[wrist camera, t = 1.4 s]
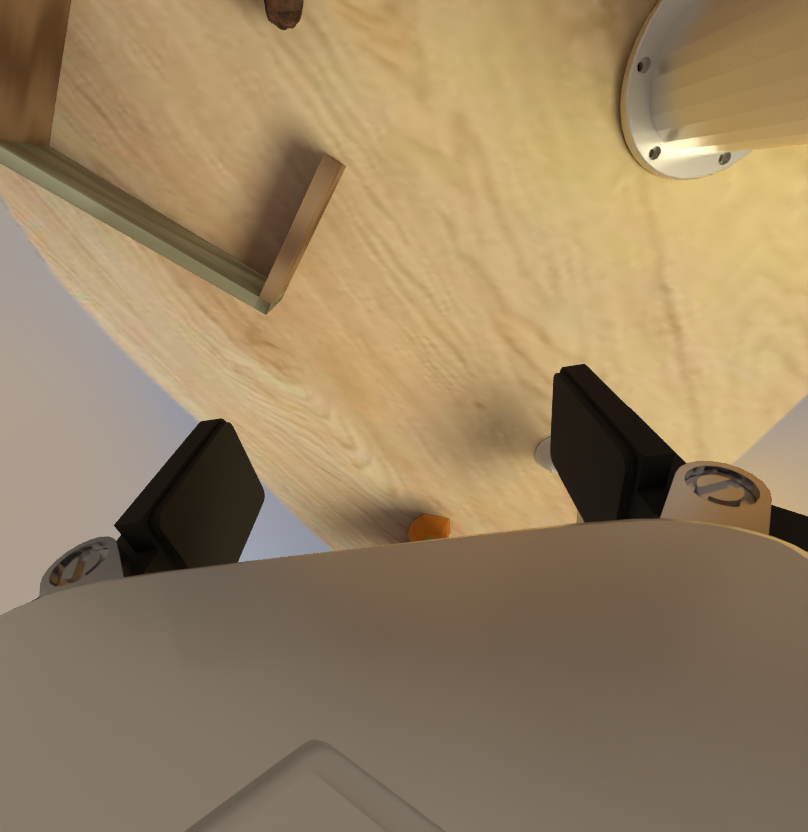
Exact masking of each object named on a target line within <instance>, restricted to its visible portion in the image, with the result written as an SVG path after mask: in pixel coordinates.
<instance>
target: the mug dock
mask: <svg viewBox="0 0 808 832" xmlns="http://www.w3.org/2000/svg"><path fill="white" fill-rule="evenodd" d="M70 3H71V0H0V163H1V164H3V165H4V166H6V167H8V168H10V169H11V170H13V171H15V172H17V173H18V174H20V175H22V176H24V177H25V178H27V179H29V180H31V181H32V182H34V183H36V184H38V185H39V186H41V187H43V188H45V189H46V190H48V191H50V192H52V193H53V194H55V195H57V196H59V197H60V198H62V199H64V200H66V201H67V202H69V203H71V204H73V205H74V206H76V207H78V208H80V209H81V210H83V211H85V212H87V213H88V214H90V215H92V216H94V217H95V218H97V219H99V220H101V221H102V222H104V223H106V224H108V225H109V226H111V227H113V228H115V229H116V230H118V231H120V232H122V233H123V234H125V235H127V236H129V237H131V238H132V239H134V240H136V241H138V242H139V243H141V244H143V245H145V246H146V247H148V248H150V249H152V250H153V251H155V252H157V253H159V254H160V255H162V256H164V257H166V258H167V259H169V260H171V261H173V262H174V263H176V264H178V265H180V266H181V267H183V268H185V269H187V270H188V271H190V272H192V273H194V274H195V275H197V276H199V277H201V278H202V279H204V280H206V281H208V282H209V283H211V284H213V285H215V286H216V287H218V288H220V289H222V290H223V291H225V292H227V293H229V294H230V295H232V296H234V297H236V298H237V299H239V300H241V301H243V302H244V303H246V304H248V305H250V306H251V307H253V308H255V309H257V310H258V311H260V312H262V313H264V314H265V315H266V314H267V313H268V312H269V311H270V310H271V309H272V308H273V307H274V306H275V305H276V304H277V303H278V302H279V301H280V300H281V299H282V297H283V295H284V293H285V291H286V289H287V287H288V285H289V283H290V281H291V279H292V276H293V274H294V272H295V270H296V268H297V266H298V264H299V262H300V260H301V258H302V256H303V254H304V252H305V250H306V248H307V246H308V244H309V241H310V239H311V237H312V235H313V233H314V231H315V229H316V227H317V225H318V223H319V221H320V219H321V217H322V215H323V213H324V211H325V209H326V206H327V204H328V202H329V200H330V198H331V196H332V194H333V192H334V190H335V188H336V186H337V184H338V182H339V180H340V178H341V176H342V174H343V171H344V169H345V167H346V166H344V165H343V164H342V163H340V162H339V161H338V160H336V159H335V158H333V157H331V156H329V155H327V154H325V153H324V155H323V157H322V159H321V162H320V164H319V166H318V168H317V170H316V173H315V175H314V177H313V179H312V181H311V184H310V186H309V188H308V190H307V192H306V195H305V197H304V199H303V201H302V203H301V206H300V208H299V210H298V212H297V214H296V217H295V219H294V221H293V223H292V225H291V227H290V230H289V232H288V234H287V236H286V238H285V241H284V243H283V245H282V247H281V249H280V252H279V254H278V256H277V258H276V260H275V263H274V265H273V267H272V269H271V271H270V274H269V276H268V278H267V277H265V276H263V275H262V274H260V273H258V272H257V271H255V270H253V269H252V268H250V267H248V266H247V265H245V264H243V263H242V262H240V261H238V260H237V259H235V258H233V257H232V256H230V255H228V254H227V253H225V252H223V251H222V250H220V249H218V248H217V247H215V246H213V245H212V244H210V243H208V242H207V241H205V240H204V239H202V238H200V237H199V236H197V235H195V234H194V233H192V232H190V231H189V230H187V229H185V228H184V227H182V226H180V225H179V224H177V223H175V222H174V221H172V220H170V219H169V218H167V217H165V216H164V215H162V214H160V213H159V212H157V211H155V210H154V209H152V208H150V207H149V206H147V205H145V204H144V203H142V202H140V201H139V200H137V199H135V198H134V197H132V196H130V195H129V194H127V193H125V192H124V191H122V190H121V189H119V188H117V187H116V186H114V185H112V184H111V183H109V182H107V181H106V180H104V179H102V178H101V177H99V176H97V175H96V174H94V173H92V172H91V171H89V170H87V169H86V168H84V167H82V166H81V165H79V164H77V163H76V162H74V161H72V160H71V159H69V158H67V157H66V156H64V155H62V154H61V153H59V152H57V151H56V150H54V149H52V148H51V147H49V140H50V134H51V127H52V121H53V114H54V108H55V101H56V95H57V88H58V82H59V75H60V68H61V62H62V55H63V49H64V42H65V36H66V29H67V23H68V16H69V10H70Z"/></svg>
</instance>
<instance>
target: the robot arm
mask: <svg viewBox="0 0 808 832" xmlns="http://www.w3.org/2000/svg"><path fill="white" fill-rule="evenodd" d="M637 65H639V66H640V70H639V72H638V70H637ZM620 112H621V125H622V129H623V133H624V137H625V141H626V143H627V145H628V147H629V149H630V151H631V153H632V155H633V157H634V158H635V159H636V160H637V161H638V163H639V164H640V165H641V166H642V167H643V168H645V169H646V170H648V171H649V172H651V173H652V174H654V175H657V176H660V177H663V178H666V179H675V180H687V179H698V178H701V177H705V176H709V175H713V174H715V173H717V172H720V171H722V170H724V169H726V168H728V167H730V166H731V165H733V164H734V163H736V162H738V161H739V160H741V159H742V158H744V157H745V156H746V155H748V154H749V153H750V152H751V151H752V150H755V149H765V148H775V147H784V146H794V145H804V144H808V0H659V1H658V3H657V4H656V6H655V7H654V9H653V10H652V11H651V13H650V14H649V16H648V17H647V19H646V21H645V23H644V25H643V27H642V29H641V31H640V32H639V34H638V36H637V38H636V40H635V43H634V46H633V48H632V51H631V54H630V56H629V59H628V61H627V65H626V70H625V74H624V78H623V82H622V90H621V101H620ZM650 151H651V154H650V156H649V152H650ZM550 455H551V460H552V463H553V465H554V467H555V469H556V470H557V472H558V474H559V476H560V478H561V480H562V482H563V484H564V485H565V487H566V489H567V491H568V493H569V495H570V497H571V498H572V500H573V502H574V504H575V506H576V508H577V510H578V511H579V513H580V515H581V517H582V519H583V521H584V523H576V524H566V525H557V526H548V527H539V528H530V529H521V530H512V531H503V532H495V533H486V534H477V535H468V536H459V537H450V538H441V539H433V540H424V541H416V542H407V543H398V544H390V545H381V546H373V547H364V548H355V549H347V550H339V551H330V552H322V553H313V554H305V555H297V556H288V557H280V558H272V559H263V560H254V561H246V562H238V560H239V558H240V555H241V553H242V551H243V549H244V546H245V544H246V542H247V539H248V537H249V535H250V532H251V530H252V528H253V525H254V523H255V521H256V518H257V516H258V514H259V511H260V509H261V507H262V504H263V502H264V497H265V496H264V495H265V494H264V490H263V487H262V485H261V483H260V481H259V479H258V477H257V475H256V473H255V471H254V469H253V467H252V464H251V462H250V460H249V458H248V456H247V454H246V452H245V450H244V448H243V446H242V444H241V442H240V440H239V438H238V436H237V433H236V431H235V429H234V427H233V426H232V424H231V423H229V422H226V421H225V420H224V419H221V418H220V419H214V420H207V421H201V422H200V423H199V424H198V425H197V426H196V427H195V429H194V430H193V431H192V432H191V434H190V435H189V436H188V437H187V438H186V439H185V441H184V442H183V443H182V444H181V446H180V447H179V448H178V449H177V450H176V451H175V453H174V454H173V455H172V456H171V457H170V459H169V460H168V461H167V462H166V463H165V465H164V466H163V467H162V468H161V470H160V471H159V472H158V473H157V474H156V476H155V477H154V478H153V479H152V480H151V481H150V483H149V484H148V485H147V486H146V487H145V489H144V490H143V491H142V492H141V493H140V495H139V496H138V497H137V498H136V499H135V501H134V502H133V503H132V504H131V506H130V507H129V508H128V509H127V510H126V511H125V513H124V514H123V515H122V516H121V517H120V519H119V520H118V521H117V522H116V523H115V525H114V526H115V527H116V529H117V530H118V531H119V532H120V533H121V536H120V537H119V538H118V540H117V541H116V540H115V539H114V538H111V537H98V538H95V539H91V540H89V541H86V542H84V543H82V544H79V545H78V546H76V547H74V548H73V549H71V550H69V551H68V552H66V553H65V554H64V555H63V556H62V557H60V558H59V559H57V560H56V561H55V562H54V563H53V564H52V565H51V566H50V567H49V568H48V570H47V571H46V573H45V574H44V576H43V577H42V580H41V583H40V595H39V597H38V598H37V599H35V600H33V601H31V602H29V603H26V604H24V605H22V606H19V607H17V608H14V609H13V610H11V611H8V612H6V613H4V614H3V615H0V832H808V516H805V515H802V514H798V513H795V512H792V511H789V510H786V509H783V508H780V507H776V506H773V505H771V502H772V498H771V493H770V490H769V489H768V488H767V486H766V485H765V484H764V483H763V482H762V481H761V480H760V479H758V478H757V477H756V476H754V475H753V474H751V473H749V472H747V471H745V470H743V469H741V468H738V467H735V466H732V465H729V464H726V463H720V462H714V461H696V462H690V463H686V462H685V461H684V460H682V459H681V458H680V457H679V456H678V455H677V454H676V453H675V452H674V451H673V450H672V449H671V448H670V447H669V446H668V445H667V444H666V443H665V442H664V441H663V440H662V439H661V438H660V437H659V436H658V435H657V434H656V433H655V432H654V431H653V430H652V429H651V428H650V427H649V426H648V425H647V424H646V423H645V422H644V421H643V420H642V419H641V418H640V417H639V416H638V415H637V414H636V413H635V412H634V411H633V410H632V409H631V408H629V407H628V406H627V405H626V404H625V403H624V402H623V401H622V400H621V399H620V398H619V397H618V396H617V395H616V394H615V393H614V392H613V391H612V390H611V389H610V388H609V387H608V386H607V385H606V384H605V383H604V382H603V381H602V380H601V379H600V378H599V377H598V376H597V375H596V374H595V373H594V372H593V371H592V370H591V369H590V368H589V367H588V366H587V365H585V364H580V365H574V366H567V367H562V368H561V370H560V373H555V375H554V379H553V400H552V421H551V443H550Z"/></svg>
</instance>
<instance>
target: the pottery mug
mask: <svg viewBox="0 0 808 832" xmlns="http://www.w3.org/2000/svg"><path fill="white" fill-rule="evenodd" d="M264 4H265V11H266V15H267V18H268V20H269V21H270V22H271V23H273V24H275V25H276V26H277V27H278V28H279V29H281V30H286V29H287V28H294V27H295V26H296V24H297V23H298V22H299V21H300V18H301V15H302V9H303V0H264Z"/></svg>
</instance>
